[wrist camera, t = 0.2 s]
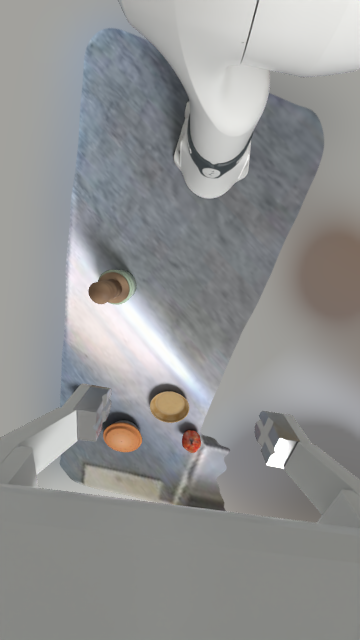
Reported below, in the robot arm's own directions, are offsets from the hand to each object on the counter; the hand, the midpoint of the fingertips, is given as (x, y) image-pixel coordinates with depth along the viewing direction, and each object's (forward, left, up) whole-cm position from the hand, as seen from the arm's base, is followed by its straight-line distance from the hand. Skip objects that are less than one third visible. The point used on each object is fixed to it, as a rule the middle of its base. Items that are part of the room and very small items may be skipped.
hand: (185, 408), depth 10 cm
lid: (+3, -20, -42) cm, 46 cm away
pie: (+63, -14, -48) cm, 80 cm away
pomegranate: (+59, +13, -48) cm, 77 cm away
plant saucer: (+45, +2, -48) cm, 66 cm away
